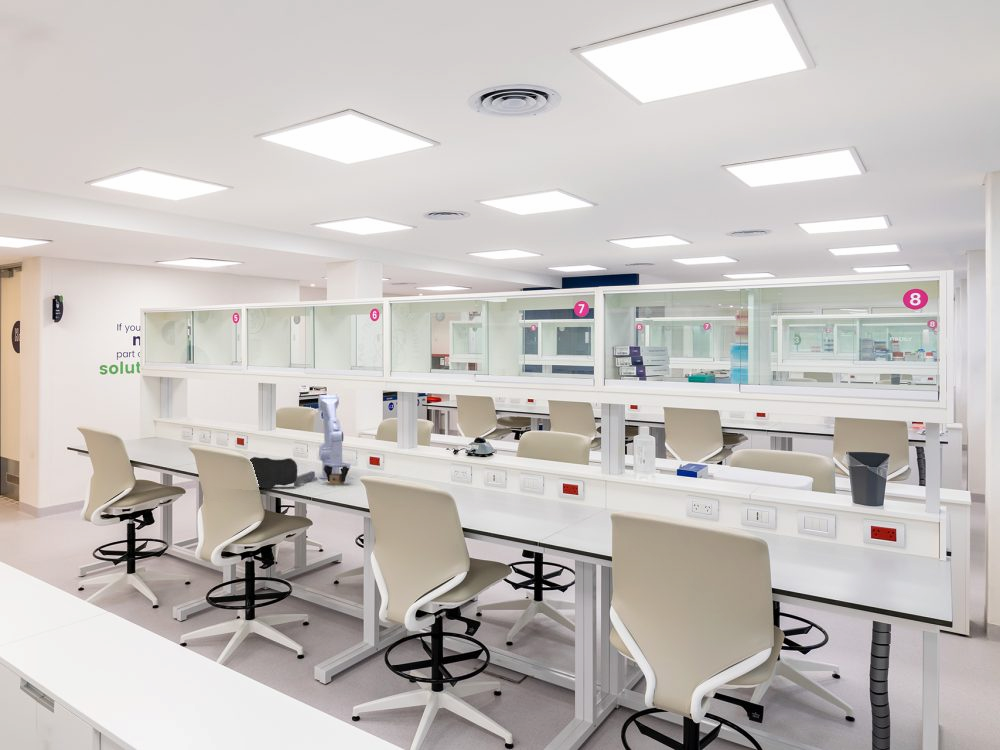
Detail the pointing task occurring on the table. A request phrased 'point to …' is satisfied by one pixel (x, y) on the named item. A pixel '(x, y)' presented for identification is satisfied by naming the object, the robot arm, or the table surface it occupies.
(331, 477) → the cabinet
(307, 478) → the grey metal bar
